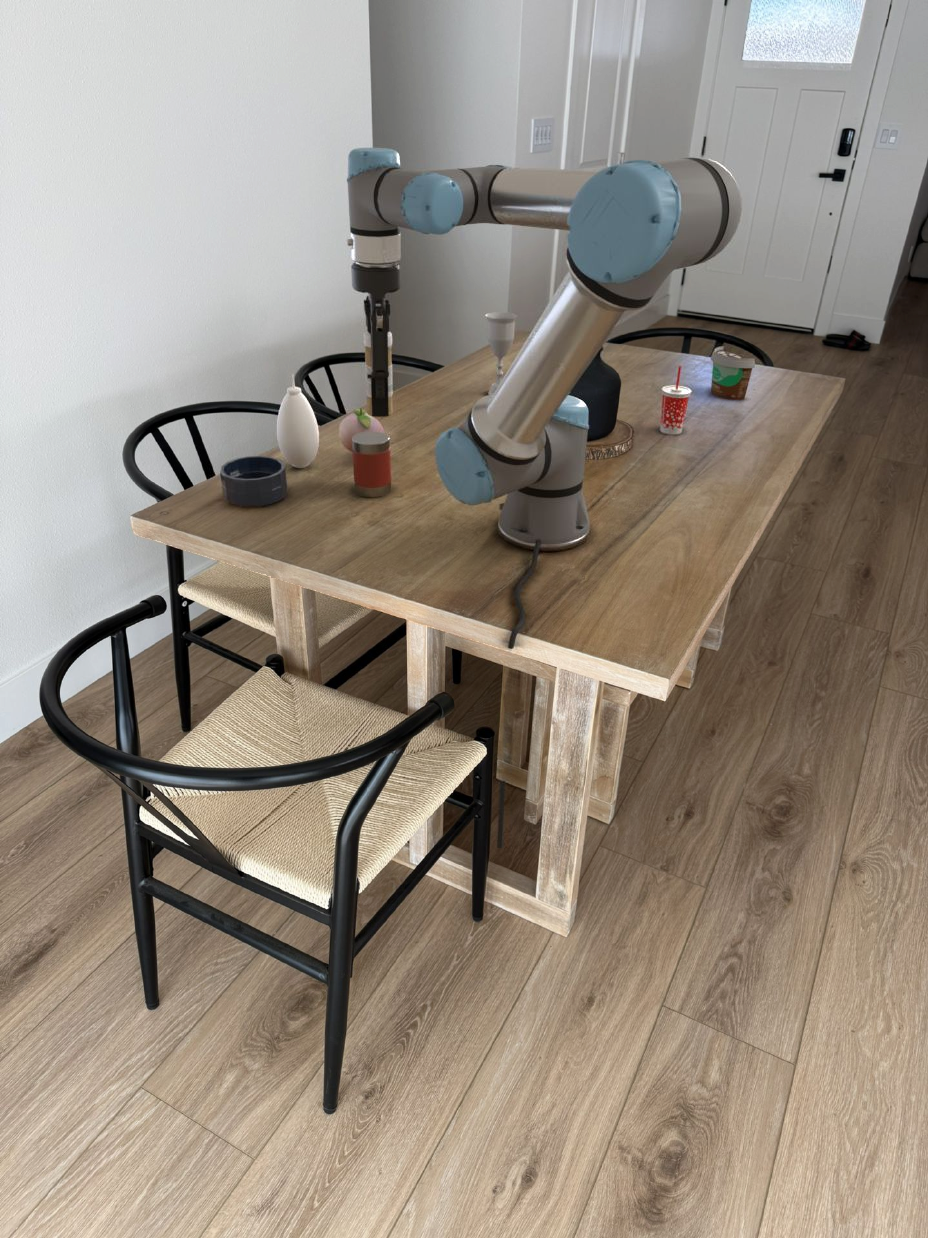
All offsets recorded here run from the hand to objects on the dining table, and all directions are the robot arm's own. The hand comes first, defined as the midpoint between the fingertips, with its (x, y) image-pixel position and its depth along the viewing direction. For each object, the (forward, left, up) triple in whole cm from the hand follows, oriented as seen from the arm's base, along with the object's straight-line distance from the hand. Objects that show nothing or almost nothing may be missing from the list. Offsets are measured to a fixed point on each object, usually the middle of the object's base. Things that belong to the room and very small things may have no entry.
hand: (379, 409), depth 148 cm
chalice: (+59, -33, -18) cm, 70 cm away
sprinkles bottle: (0, 0, -1) cm, 1 cm away
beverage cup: (+29, -65, -17) cm, 73 cm away
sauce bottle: (+19, +14, -17) cm, 30 cm away
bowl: (+6, +22, -17) cm, 29 cm away
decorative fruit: (+22, +2, -17) cm, 29 cm away
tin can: (+6, +1, -17) cm, 18 cm away
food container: (+51, -86, -17) cm, 102 cm away
